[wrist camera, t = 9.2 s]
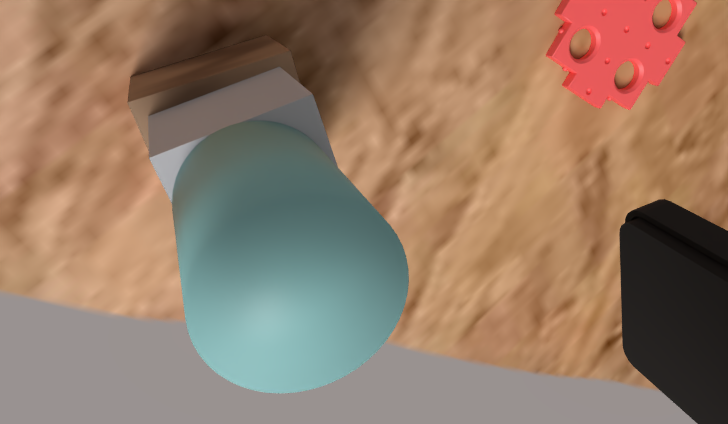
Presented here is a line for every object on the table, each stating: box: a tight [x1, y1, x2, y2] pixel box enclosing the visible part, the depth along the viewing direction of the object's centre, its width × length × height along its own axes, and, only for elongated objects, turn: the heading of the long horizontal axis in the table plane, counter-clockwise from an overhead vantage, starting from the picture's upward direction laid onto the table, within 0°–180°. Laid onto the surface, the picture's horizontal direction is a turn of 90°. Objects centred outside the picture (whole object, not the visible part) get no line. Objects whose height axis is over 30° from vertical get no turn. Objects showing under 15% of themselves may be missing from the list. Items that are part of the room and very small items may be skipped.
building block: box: [546, 0, 697, 110], centre depth 32 cm, size 1×8×8 cm
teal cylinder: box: [172, 121, 409, 393], centre depth 16 cm, size 5×5×6 cm
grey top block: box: [148, 67, 338, 203], centre depth 21 cm, size 5×5×5 cm
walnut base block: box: [127, 35, 300, 151], centre depth 25 cm, size 6×6×5 cm
